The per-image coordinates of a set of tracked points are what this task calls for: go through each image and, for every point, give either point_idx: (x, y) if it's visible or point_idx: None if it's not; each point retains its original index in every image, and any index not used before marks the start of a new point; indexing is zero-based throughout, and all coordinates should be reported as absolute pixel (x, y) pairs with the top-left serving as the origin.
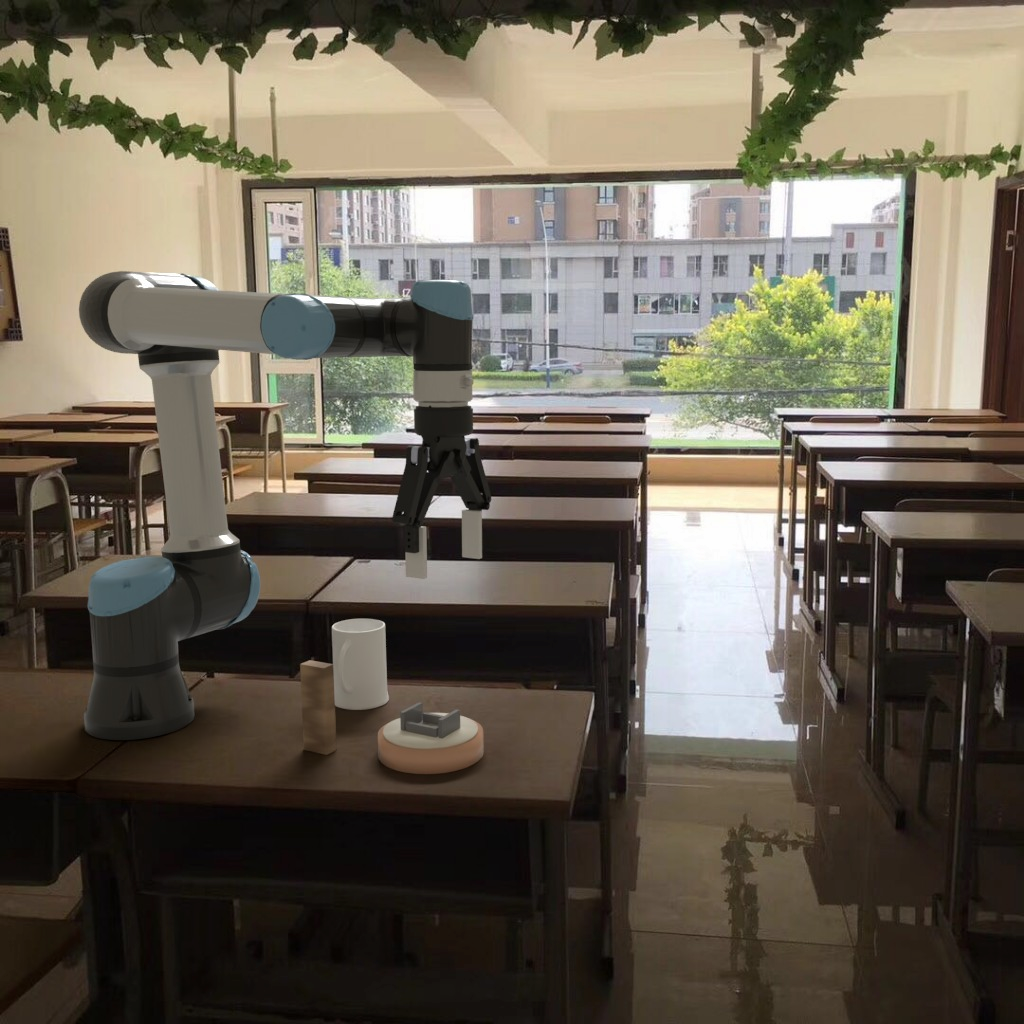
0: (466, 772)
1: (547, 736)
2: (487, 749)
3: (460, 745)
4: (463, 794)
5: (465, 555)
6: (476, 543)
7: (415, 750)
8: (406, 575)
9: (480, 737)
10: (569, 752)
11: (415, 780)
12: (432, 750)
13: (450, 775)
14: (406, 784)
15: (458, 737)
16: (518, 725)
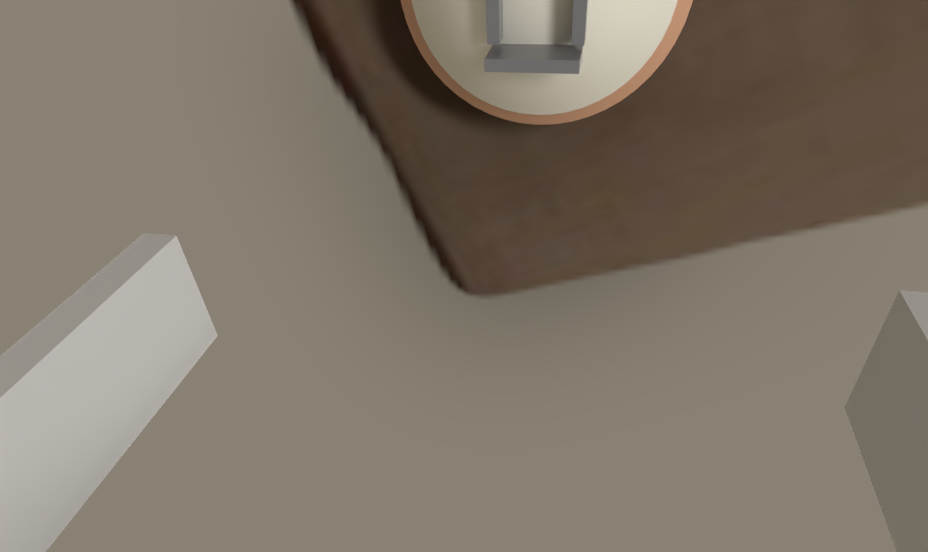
0: None
1: (765, 176)
2: None
3: (495, 106)
4: (400, 156)
5: (890, 329)
6: (891, 495)
7: (412, 25)
8: (140, 241)
9: (565, 122)
10: (680, 248)
11: (397, 34)
12: (435, 63)
13: None
14: (371, 28)
15: (520, 88)
16: (832, 78)
